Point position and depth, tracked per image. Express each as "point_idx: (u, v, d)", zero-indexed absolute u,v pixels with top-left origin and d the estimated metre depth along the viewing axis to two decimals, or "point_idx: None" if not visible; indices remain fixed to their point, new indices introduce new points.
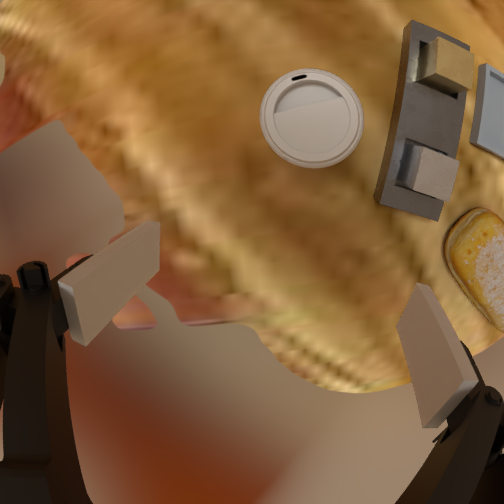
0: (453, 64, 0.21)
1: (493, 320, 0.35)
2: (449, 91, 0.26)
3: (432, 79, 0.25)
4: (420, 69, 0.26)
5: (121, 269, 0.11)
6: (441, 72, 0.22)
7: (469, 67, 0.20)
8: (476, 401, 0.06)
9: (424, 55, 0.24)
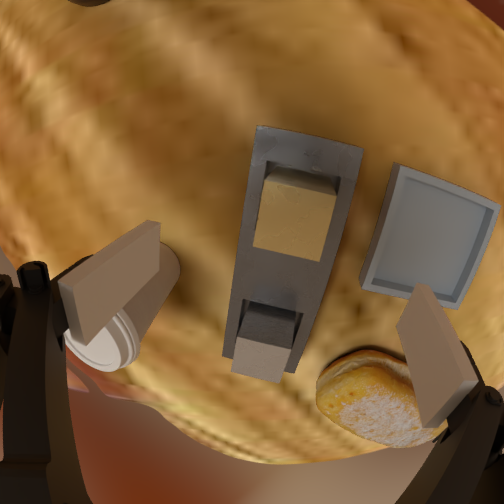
0: (287, 226, 0.20)
1: None
2: None
3: None
4: None
5: (121, 269, 0.11)
6: (262, 244, 0.21)
7: (321, 224, 0.20)
8: (476, 401, 0.06)
9: None
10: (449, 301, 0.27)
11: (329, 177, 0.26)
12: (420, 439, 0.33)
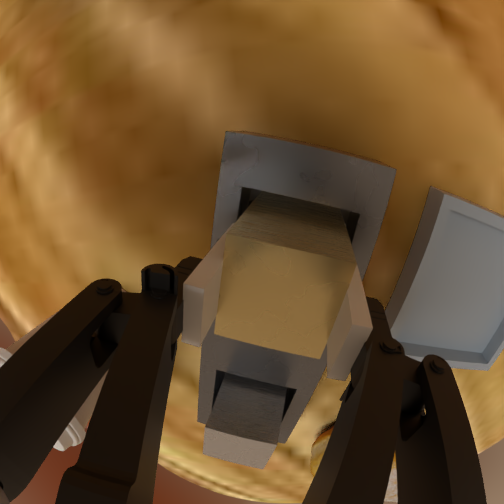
0: (268, 310, 0.12)
1: None
2: None
3: None
4: None
5: None
6: (229, 333, 0.13)
7: (326, 308, 0.11)
8: (369, 354, 0.08)
9: None
10: (480, 363, 0.18)
11: (339, 209, 0.17)
12: None
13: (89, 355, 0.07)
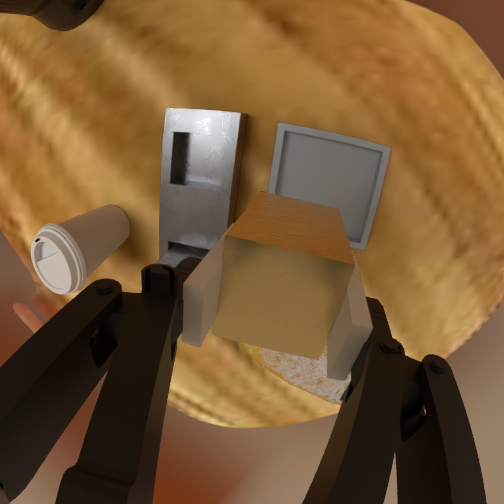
0: (267, 311, 0.12)
1: None
2: None
3: None
4: None
5: None
6: (228, 333, 0.13)
7: (325, 309, 0.11)
8: (370, 354, 0.08)
9: None
10: (352, 242, 0.34)
11: (338, 210, 0.17)
12: None
13: (89, 355, 0.07)
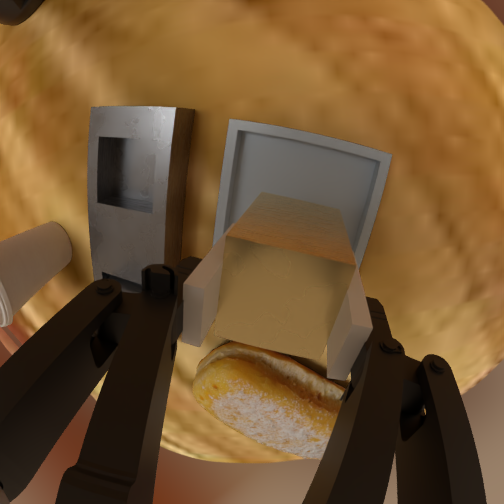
0: (268, 312, 0.12)
1: None
2: None
3: None
4: None
5: None
6: (229, 334, 0.13)
7: (325, 310, 0.11)
8: (370, 354, 0.08)
9: None
10: None
11: (339, 210, 0.17)
12: None
13: (89, 355, 0.07)
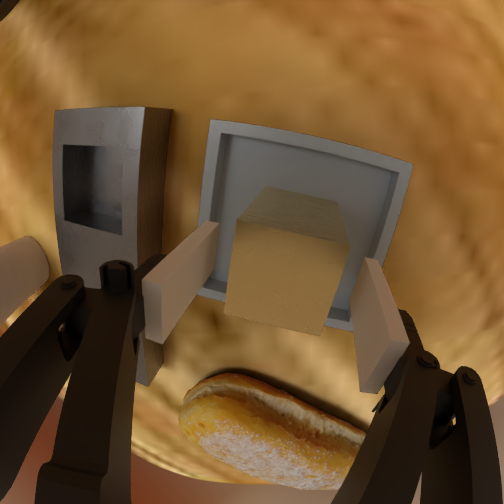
0: (273, 289, 0.13)
1: None
2: None
3: None
4: None
5: (192, 267, 0.12)
6: (237, 312, 0.14)
7: (324, 287, 0.13)
8: (407, 367, 0.07)
9: None
10: (336, 319, 0.21)
11: (336, 202, 0.19)
12: (335, 485, 0.26)
13: (58, 349, 0.07)
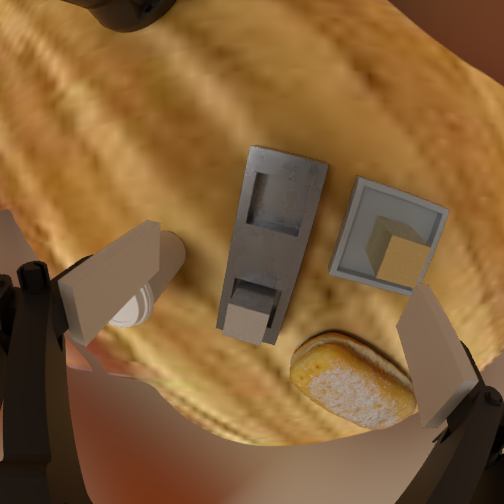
0: (400, 265, 0.28)
1: None
2: None
3: None
4: (372, 247, 0.34)
5: (121, 269, 0.11)
6: (382, 276, 0.29)
7: (419, 265, 0.28)
8: (476, 401, 0.06)
9: (378, 235, 0.32)
10: (405, 289, 0.36)
11: None
12: (387, 420, 0.41)
13: None
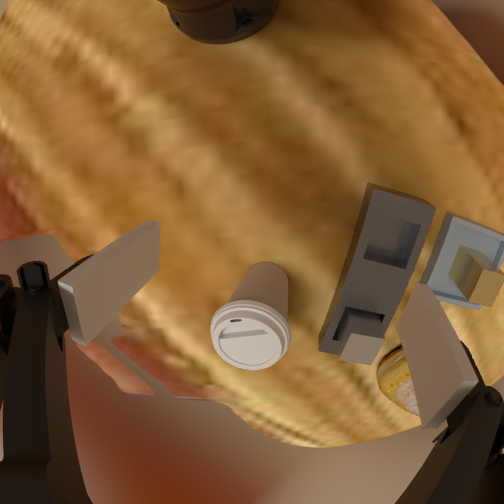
0: (485, 291, 0.29)
1: None
2: None
3: None
4: (457, 273, 0.35)
5: (121, 269, 0.11)
6: (472, 300, 0.30)
7: (497, 289, 0.28)
8: (476, 401, 0.06)
9: (465, 264, 0.33)
10: (474, 304, 0.36)
11: (482, 253, 0.34)
12: None
13: None
